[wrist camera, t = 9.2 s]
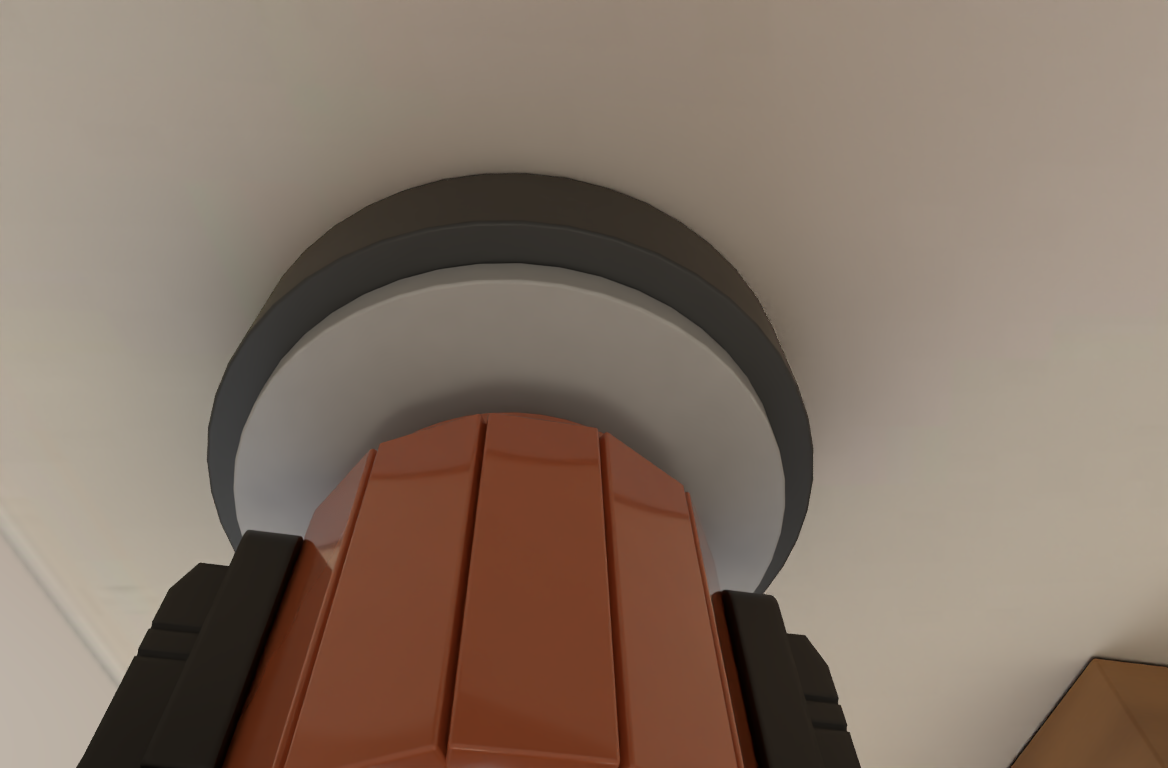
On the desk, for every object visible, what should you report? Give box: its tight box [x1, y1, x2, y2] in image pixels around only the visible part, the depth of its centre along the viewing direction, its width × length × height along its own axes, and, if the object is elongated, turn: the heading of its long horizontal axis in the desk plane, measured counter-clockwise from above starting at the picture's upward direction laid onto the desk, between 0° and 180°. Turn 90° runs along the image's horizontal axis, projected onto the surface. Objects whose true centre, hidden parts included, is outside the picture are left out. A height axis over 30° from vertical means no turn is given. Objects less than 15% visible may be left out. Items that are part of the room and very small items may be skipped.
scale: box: [207, 174, 813, 594], centre depth 15 cm, size 10×10×3 cm
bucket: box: [222, 412, 758, 768], centre depth 11 cm, size 6×6×6 cm
